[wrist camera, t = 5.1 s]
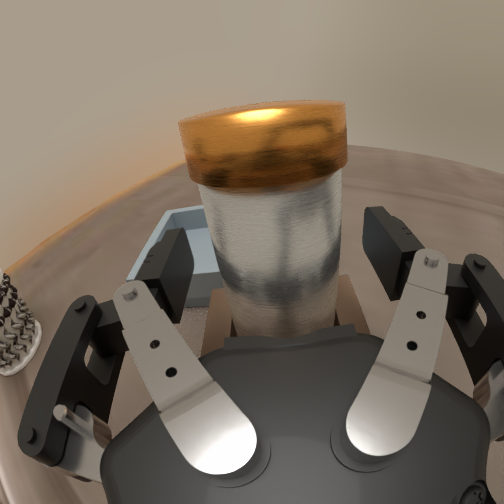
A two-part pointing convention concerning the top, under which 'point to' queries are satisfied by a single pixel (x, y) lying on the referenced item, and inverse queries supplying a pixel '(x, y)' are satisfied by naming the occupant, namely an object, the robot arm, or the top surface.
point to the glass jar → (273, 209)
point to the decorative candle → (16, 330)
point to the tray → (202, 250)
